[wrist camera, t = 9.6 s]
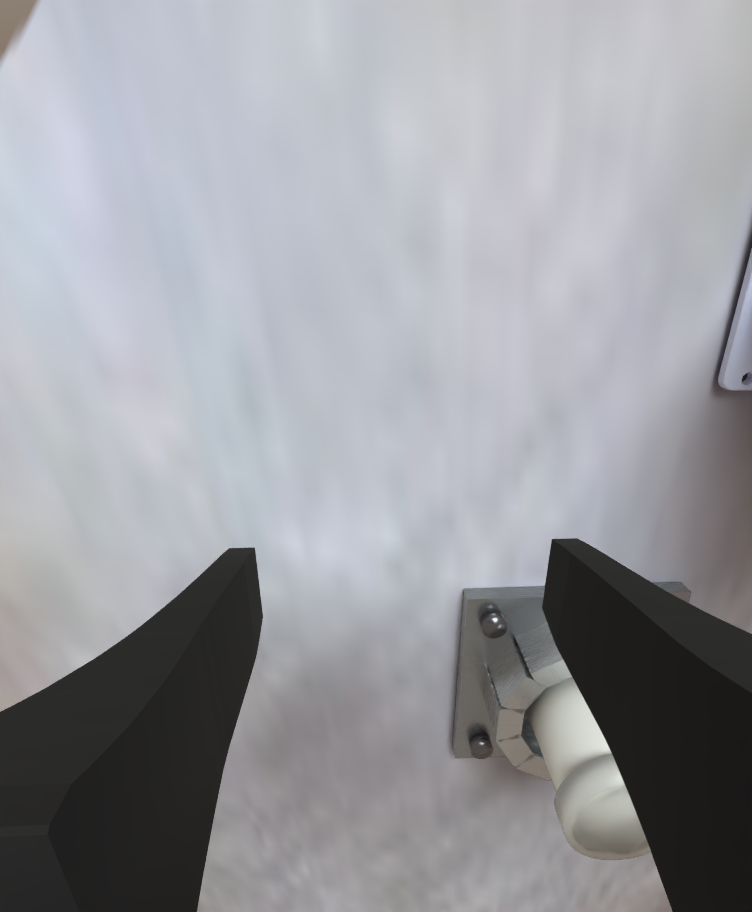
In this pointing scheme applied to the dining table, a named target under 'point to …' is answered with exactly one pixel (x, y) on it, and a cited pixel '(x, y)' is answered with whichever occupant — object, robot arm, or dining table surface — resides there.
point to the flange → (508, 673)
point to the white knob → (585, 777)
